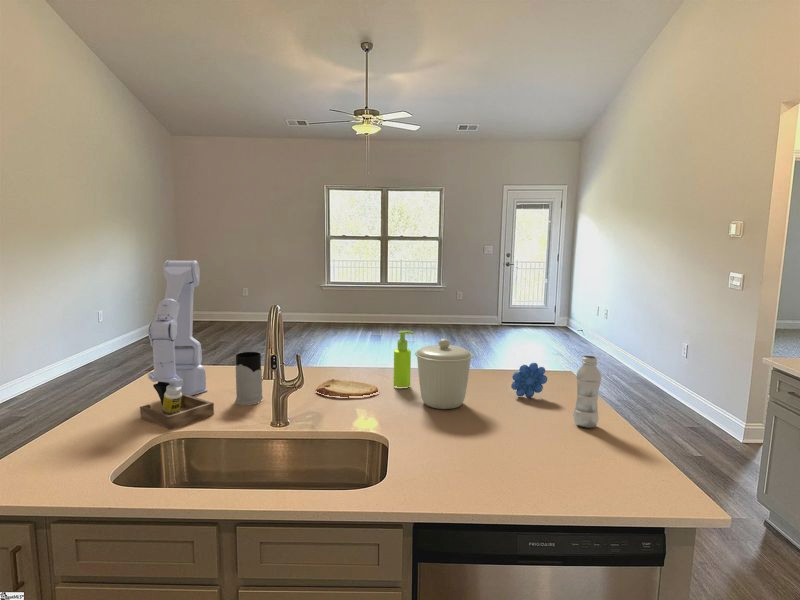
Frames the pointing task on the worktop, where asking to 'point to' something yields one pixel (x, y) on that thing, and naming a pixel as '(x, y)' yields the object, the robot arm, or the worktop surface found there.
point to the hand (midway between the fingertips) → (166, 406)
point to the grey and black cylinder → (248, 378)
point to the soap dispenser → (402, 362)
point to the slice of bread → (346, 388)
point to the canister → (443, 374)
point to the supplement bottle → (172, 400)
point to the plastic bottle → (587, 393)
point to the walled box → (171, 421)
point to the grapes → (529, 380)
